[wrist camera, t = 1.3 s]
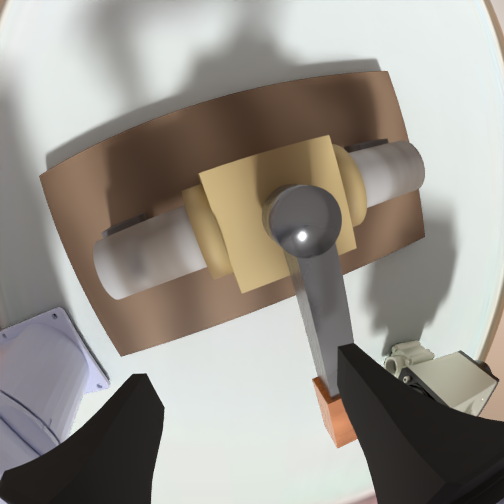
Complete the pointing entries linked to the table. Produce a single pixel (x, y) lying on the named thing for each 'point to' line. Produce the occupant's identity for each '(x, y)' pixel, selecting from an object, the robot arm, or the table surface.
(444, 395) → the pneumatic valve
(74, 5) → the table surface
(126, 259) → the ball valve
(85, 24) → the table surface
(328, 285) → the valve lever
